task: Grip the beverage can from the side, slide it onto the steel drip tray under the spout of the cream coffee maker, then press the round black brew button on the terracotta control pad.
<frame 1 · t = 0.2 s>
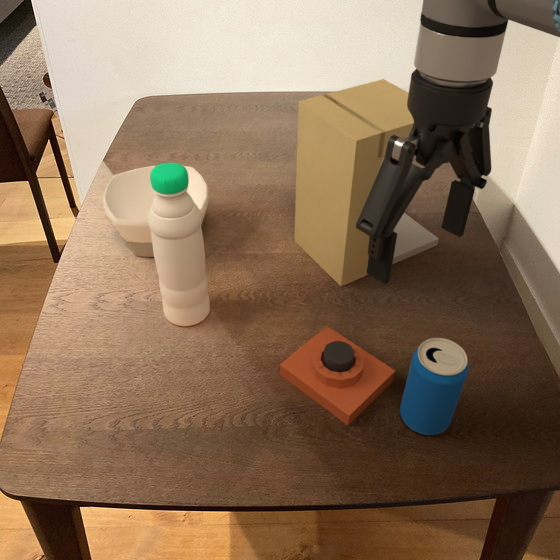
hand: (416, 253, 68), 20 cm above the table, tool pointing down, fingers open, 13 cm apart
water bottle: (187, 312, 89), on the table
beverage can: (424, 417, 75), on the table
brew pad: (336, 377, 79), on the table
coffee maker: (381, 237, 103), on the table
brew button: (338, 356, 76), point 4 cm above the table, slide at 0.1 cm
bowl: (163, 237, 103), on the table
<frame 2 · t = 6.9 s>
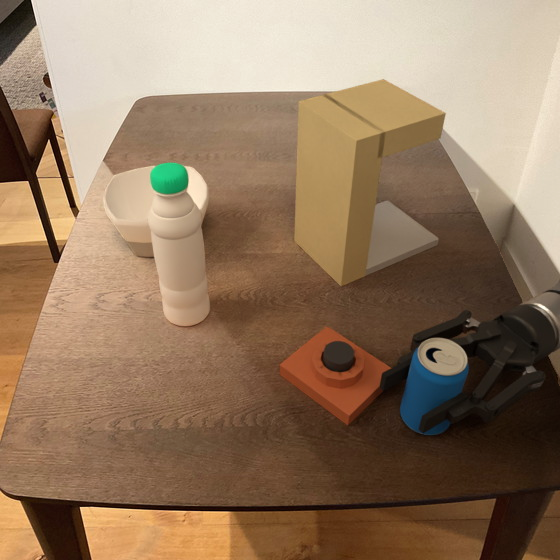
hand: (402, 402, 68), 7 cm above the table, tool horizontal, fingers closed on beverage can, 6 cm apart
beverage can: (424, 417, 75), on the table, touching gripper
everything else where it was.
when the fingers open (8 cm above the table, at t = 19.5 s): beverage can stays where it is, resting on coffee maker.
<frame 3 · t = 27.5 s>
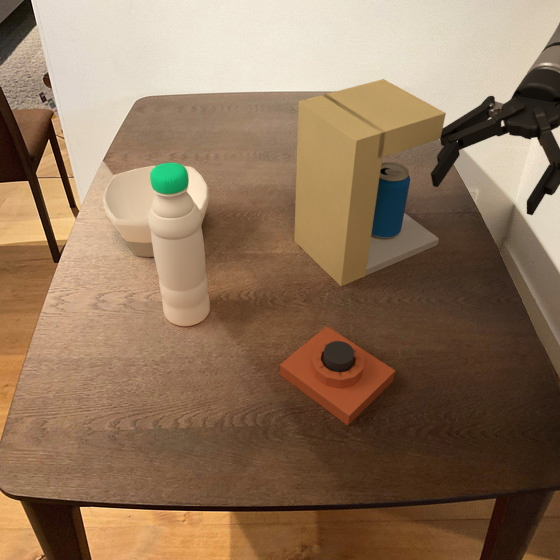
hand: (479, 194, 78), 20 cm above the table, tool tilted 65°, fingers open, 13 cm apart
beverage can: (382, 230, 102), point 1 cm above the table, touching coffee maker
everything else where it was.
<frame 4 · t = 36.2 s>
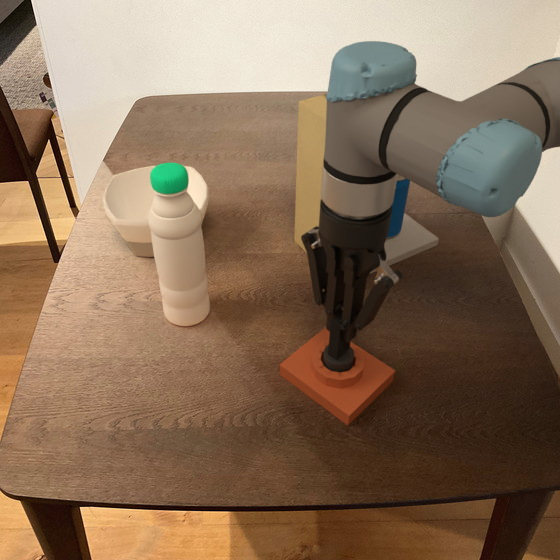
hand: (338, 351, 76), 5 cm above the table, tool pointing down, fingers closed
brew button: (338, 357, 76), point 4 cm above the table, slide at -0.1 cm, touching gripper
everything else where it was.
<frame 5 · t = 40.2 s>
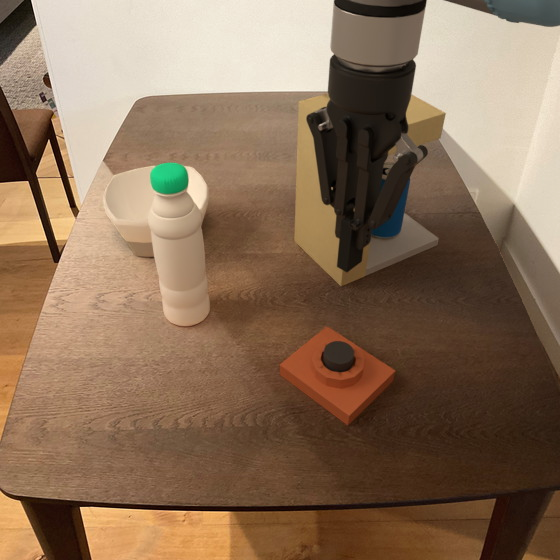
hand: (349, 264, 66), 20 cm above the table, tool pointing down, fingers closed
brew button: (338, 356, 76), point 4 cm above the table, slide at 0.1 cm
everything else where it was.
at the end: beverage can 0.1 cm off-centre on the coffee maker, point 1.3 cm above the coffee maker's base; beverage can tilted 0°; brew button pushed in 1.2 cm at the most during the clip, back to where it started at the end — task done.
